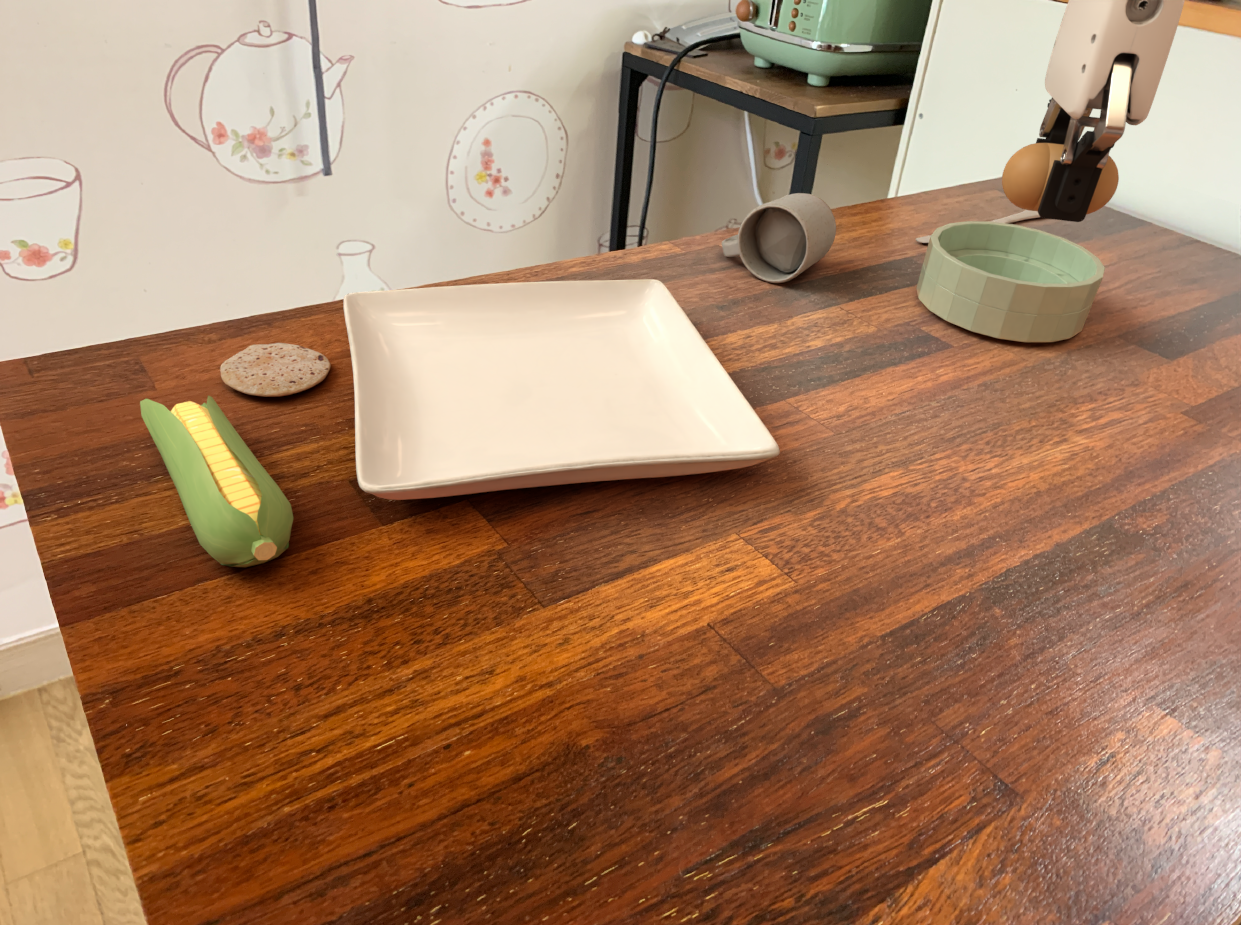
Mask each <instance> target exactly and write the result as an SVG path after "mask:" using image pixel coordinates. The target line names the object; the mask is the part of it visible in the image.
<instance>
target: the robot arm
mask: <svg viewBox="0 0 1241 925" xmlns="http://www.w3.org/2000/svg"><path fill="white" fill-rule="evenodd" d="M1185 1H1186V0H1068V2H1067V5H1066V8H1065V10H1064V13H1063V16H1062V19H1061V22H1060V24H1059V28H1058V31H1057V34H1056V37H1055V41H1054V44H1053V47H1052V50H1051V53H1050V57H1049V61H1048V65H1047V68H1046V73H1045V77H1044V88H1045V90H1046V92H1047V94H1049V96H1050V97H1051V98H1050V99H1049V100H1048V101H1049V102H1047V109H1046V111H1045V114H1044V117H1043V119H1042V121H1041V124H1040V127H1039V131H1038V132H1039V133H1038V135H1039V137H1037V138H1036V141H1035V143H1052V144H1061V145H1064V146H1063V150H1062V154H1061V160H1060V161H1059V160H1054V163H1053V166H1052V169H1051V172H1050V175H1049V178H1048V181H1047V184H1046V187H1045V190H1044V193H1043V196H1042V199H1041V202H1040V205H1039V208H1038V214H1039V215H1040V217H1039V218H1041V219H1047V220H1055V221H1056V220H1057V221H1065V222H1073V223H1082V222H1083V221H1084V220H1085V219H1086V216H1087V215H1088V214H1087V211H1088V208H1089V205H1090V203H1091V200H1092V197H1093V194H1094V192H1095V189H1096V186H1097V183H1098V180H1099V178H1100V175H1101V172H1102V169H1103V168H1104V167H1105V165H1106V163H1107V160H1108V156H1110V153H1111V152H1110V151H1111V150H1112V149H1113V148H1114V147H1115V144H1116V143H1117V142H1118V141H1119V140H1120V139H1121V138H1123V135H1124V134H1125V129H1126V124H1128V125H1129V126H1138V125H1140V124H1142V123H1143V122H1145V120H1146V119H1147V118H1148V116H1149V113H1150V111H1151V108H1152V105H1153V103H1154V100H1155V97H1156V94H1157V91H1158V88H1159V85H1160V82H1161V80H1162V76H1163V72H1164V71H1165V70H1164V69H1165V67H1166V64H1167V61H1168V58H1169V55H1170V51H1171V48H1172V46H1173V43H1174V39H1175V36H1176V32H1177V30H1178V27H1179V23H1180V19H1181V17H1182V12H1183V10H1184V5H1185ZM1093 110H1100V112H1099V113H1100V115H1099V117H1097V116H1096V117H1095V116H1091V114H1092V112H1093ZM1085 128H1093V130H1086V131H1085V133H1084V134H1083V132H1084V130H1085ZM1082 134H1083V135H1082ZM1086 214H1087V215H1086Z"/></svg>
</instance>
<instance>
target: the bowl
mask: <svg viewBox="0 0 1241 925" xmlns="http://www.w3.org/2000/svg"><path fill="white" fill-rule="evenodd" d="M990 221H991V220H990ZM990 221H985V220H984V221H983V220H982V221H981V220H965V221H958V222H950V223H946V224H944V225H942V226H939V227H936V228H935V230H934V231H933V232H932V234H931V236H930V240H929V243H927V247H926V251H925V255H924V258H923V262H922V266H921V270H920V273H919V277H918V280H917V283H916V288H915V290H916V294H917V298H918V300H919V301H920V302H921V303H922V304H923V305H924V306H925V307H926V309H927V310H928V311H930V312H931V313H933V314H935V315H936V316H937V317H939V318H941V319H942V320H944V321H946V322H948V323H950V324H953V325H956V326H957V327H960V328H961V329H965V330H967V331H969V332H972V333H976V334H979V335H983V336H987V337H991V338H994V339H999V340H1006V341H1013V342H1021V343H1055V342H1059V341H1060V342H1061V341H1063V340H1069V339H1072V338H1074V336H1076V335H1077V334H1079V333H1081V332H1082V331H1083V329H1084V326H1085V324H1086V321H1087V319H1088V316H1089V314H1090V311H1091V308H1092V306H1093V304H1094V301H1095V299H1096V296H1097V294H1098V291H1099V288H1100V286H1101V284H1102V281H1103V278H1104V275H1105V270H1106V267H1105V265H1104V264H1103V262H1102V261H1101V259H1100V257H1098V256H1096V255H1095V254H1094V253H1092V252H1091V251H1089V249H1087V248H1085V247H1084V246H1082V245H1080V244H1077V243H1075V242H1073V241H1072V240H1069V239H1067V238H1066V237H1065V238H1064V237H1063V236H1059V235H1056V234H1053V233H1050V232H1047V231H1044V230H1040V229H1038V228H1037V229H1036V228H1033V227H1028V226H1023V225H1019V224H1013V223H1008V224H1006V223H998V222H990Z"/></svg>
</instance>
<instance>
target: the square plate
mask: <svg viewBox="0 0 1241 925" xmlns="http://www.w3.org/2000/svg"><path fill="white" fill-rule="evenodd" d="M342 299H343V300H342V301H343V303H342V305H343V315H344V320H345V327H346V332H347V337H348V343H349V351H350V352H349V353H350V358H351V367H352V374H353V392H354V435H355V436H354V440H355V441H354V444H355V446H354V447H355V449H354V450H355V471H356V472H355V473H356V479H357V483H358V486H359V488H360V489H361V491H363V492H364V493H367V494H371V495H373V496H375V497H376V498H380V499H386V500H389V501H390V500H391V501H401V500H402V501H404V500H421V499H422V500H423V499H434V498H435V499H436V498H444V497H445V498H446V497H453V496H464V495H472V494H473V495H474V494H479V493H481V494H482V493H487V492H489V493H490V492H497V491H506V490H517V489H526V488H527V489H528V488H538V487H539V488H540V487H549V486H560V485H561V486H562V485H569V484H570V485H571V484H581V483H582V484H583V483H592V482H606V481H607V482H608V481H618V480H619V481H623V480H635V479H651V478H665V477H677V476H687V475H689V476H690V475H698V474H706V473H716V472H722V471H723V472H724V471H730V470H736V469H743V468H747V467H752V466H755V465H759V464H760V463H763V462H766V461H768V460H771V459H773V458H776V457H778V456H779V455H780V453H781V450H780V447H779V444H778V443H777V441H776V439H775V438H774V437H773V435H772V433H771V432H770V431H769V429H768V427H767V426H766V425H765V423H764V422H763V421H762V419H761V417H760V416H759V415H758V413H757V412H756V411H755V409H754V408H753V407H752V405H751V404H750V402H749V401H748V399H747V398H746V397H745V396H744V394H743V393H742V391H741V390H740V389H739V387H738V386H737V384H736V383H735V381H734V380H733V379H732V377H731V376H730V374H729V373H728V372H727V370H726V369H725V367H724V365H723V364H722V363H721V361H719V360H718V357H717V356H716V355H715V354H714V352H713V351H712V349H711V348H710V346H709V345H708V344H707V342H706V341H705V339H704V337H703V336H702V334H700V332H699V331H698V329H697V328H696V326H695V325H694V323H693V322H692V321H691V320H690V318H689V316H688V315H687V314H686V312H685V310H684V309H683V308H682V306H681V305H680V304H679V302H678V301H677V299H676V298H675V297H674V296H673V294H672V293H671V291H670V290H669V288H667V286H666V285H665V284H664V282H662V281H661V280H658V279H655V278H654V279H653V278H643V279H600V280H594V279H593V280H592V279H591V280H553V281H551V280H549V281H548V280H547V281H526V282H525V281H524V282H501V283H482V284H480V283H479V284H478V283H477V284H463V285H461V284H460V285H448V286H447V285H446V286H445V285H444V286H430V287H415V288H401V289H391V290H371V291H358V292H350V293H347V294H345V295H344V296H343V298H342Z"/></svg>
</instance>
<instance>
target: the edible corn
mask: <svg viewBox="0 0 1241 925" xmlns="http://www.w3.org/2000/svg"><path fill="white" fill-rule="evenodd" d="M139 406H140V414H141V419H142V420H143V422H144V424H145V426H146V428H147V430H148V432H149V435H150V437H151V439H152V440H153V442H154V444H155V446H156V449H157V450H158V452H159V454H160V456H161V458H162V461H163V463H164V465H165V467H166V470H167V471H168V474H169V476H170V478H171V480H172V482H173V484H174V487H175V489H176V491H177V493H178V496H179V499H180V501H181V504H182V506H183V509H184V511H185V514H186V516H187V519H188V521H189V524H190V526H191V528H192V530H193V533H194V535H195V537H196V539H197V541H198V543H199V545H200V546H201V547H202V548H203V549H204V550H205V552H206V553H207V554H208V555H209V556H210V557H211V558H213V559H214V560H215V561H216V562H217V563H219V565H220V566H224V567H225V566H226V567H235V568H248V567H252V566H256V565H257V566H258V565H262V564H265V563H267V562H269V561H271V560H274V559H276V558H278V557H279V556H281V555H282V554H283V553H284V552H285V551H286V550H287V549H289V548H290V542H289V541H290V539H291V533H292V528H293V523H294V514H293V508H292V504H291V503H290V501H289V499H288V498H287V497H286V495H285V493H284V492H283V491H282V490H281V488H280V486H279V484H277V482H276V481H275V480H274V479H273V478H272V476H271V475H270V473H268V471H267V470H266V469H265V467H264V466H263V465H262V464H261V463H260V461H259V460H258V459H257V457H256V455H255V454H254V453H253V452H252V451H251V449H250V448H249V447H248V445H247V444H246V442H245V441H244V440H243V439H242V436H241V435H240V434H239V433H238V432H237V430H236V429H235V427H234V426H233V424H232V423H231V422H230V420H229V419H228V417H227V416H226V415H225V413H224V411H223V410H222V409H221V407H220V406H219V405H218V403H217V401H215V399H214V398H213V396H211V395H207V398H206V402H203V403H202V404H199V403H197V402H194V401H191V400H188V401H184V402H179V403H176V404H174V406H173V407H172V409H171V410H169V409H168V408H167V407H166V406H165V405H164V404H162V403H159V402H158V401H154V400H152V399H150V398H145V399H143V400H140V401H139Z"/></svg>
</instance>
